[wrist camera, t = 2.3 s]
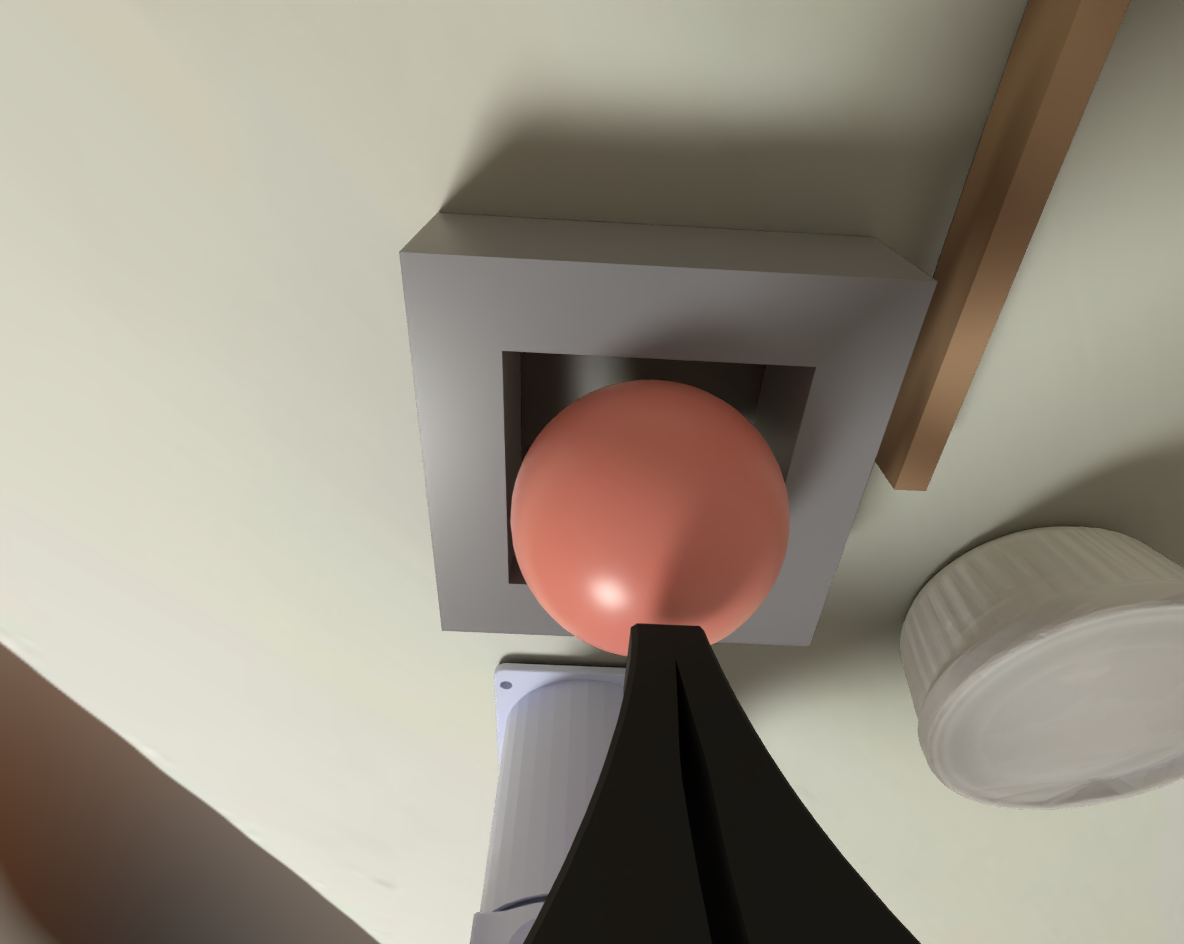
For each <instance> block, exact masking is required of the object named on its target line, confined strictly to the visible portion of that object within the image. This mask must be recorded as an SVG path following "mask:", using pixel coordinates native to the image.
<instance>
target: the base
mask: <svg viewBox="0 0 1184 944" xmlns="http://www.w3.org/2000/svg"><path fill="white" fill-rule="evenodd" d="M399 254H400V263H401V272H402V281H403V290H404V299H405V307H406V316H407V325H408V334H409V343H410V352H411V361H412V369H413V378H414V387H415V396H416V405H417V414H418V423H419V431H420V440H421V449H422V458H423V467H424V476H425V485H426V493H427V502H428V511H429V520H430V529H431V538H432V547H433V555H434V564H435V573H436V582H437V591H438V600H439V609H440V617H441V626H442V631H461V632H484V633H508V634H531V635H555V636H574V635H573V634H571V633H570V632H568V631H567V630H565V629H564V628H563V627H562V626H561V625H559V624H558V623H557V622H556V621H555V620H554V619H553V618H552V617H551V616H550V615H549V614H548V613H547V612H546V611H545V609H544V608H543V607H542V606H541V605H540V604H539V602H538V601H537V599H536V598H535V596H534V595H533V593H532V591H531V590H530V588H529V587H528V585H527V583H526V581H525V579H524V577H523V575H522V572H521V570H520V567H519V564H518V562H517V558H516V555H515V551H514V547H513V540H512V532H511V523H510V520H511V504H512V495H513V490H514V486H515V481H516V478H517V475H518V472H519V469H520V467H521V395H520V352H535V353H554V354H574V355H593V356H612V357H632V358H651V359H670V360H690V361H709V362H729V363H748V364H766V367H765V371H764V376H763V381H762V385H761V390H760V394H759V399H758V404H757V408H756V413H755V417H754V422H753V426H754V427H755V428H756V429H757V430H758V431H759V433H760V434H761V435H762V437H763V438H764V439H765V441H766V442H767V444H768V446H769V447H770V449H771V451H772V453H773V454H774V456H775V458H776V460H777V462H778V464H779V466H780V469H781V473H782V476H783V479H784V482H785V485H786V489H787V493H788V500H789V509H790V533H789V540H788V546H787V551H786V556H785V559H784V562H783V564H782V567H781V570H780V572H779V575H778V577H777V580H776V582H775V584H774V586H773V587H772V589H771V591H770V593H769V594H768V596H767V597H766V599H765V600H764V601H763V603H762V604H761V605H760V607H759V608H758V609H757V611H756V612H755V613H754V614H753V615H752V616H751V617H750V618H749V619H748V620H747V621H746V622H745V623H743V624H742V625H741V626H740V627H739V628H737V629H736V630H735V631H734V632H732V633H731V634H730V635H728V636H727V637H725V638H723V639H722V640H720V641H718V642H719V643H743V644H766V645H790V646H810V644H811V641H812V638H813V635H814V632H815V629H816V626H817V624H818V621H819V618H820V615H821V612H822V609H823V607H824V604H825V601H826V598H827V595H828V592H829V589H830V587H831V584H832V581H833V578H834V575H835V572H836V570H837V567H838V564H839V561H840V558H841V555H842V552H843V550H844V547H845V544H846V541H847V538H848V535H849V532H850V530H851V527H852V524H853V521H854V518H855V515H856V513H857V510H858V507H859V504H860V501H861V498H862V495H863V493H864V490H865V487H866V484H867V481H868V478H869V476H870V473H871V470H872V467H873V464H874V461H875V458H876V456H877V453H878V450H879V447H880V444H881V441H882V439H883V436H884V433H885V430H886V427H887V424H888V421H889V419H890V416H891V413H892V410H893V407H894V404H895V401H896V399H897V396H898V393H899V390H900V387H901V384H902V382H903V379H904V376H905V373H906V370H907V367H908V364H909V362H910V359H911V356H912V353H913V350H914V347H915V345H916V342H917V339H918V336H919V333H920V330H921V327H922V325H923V322H924V319H925V316H926V313H927V310H928V308H929V305H930V302H931V299H932V296H933V293H934V290H935V288H936V285H937V282H938V281H936V280H935V279H933V278H932V277H931V276H929V275H928V274H926V273H925V272H923V271H922V270H920V269H919V268H918V267H916V266H915V265H913V264H912V263H910V262H909V261H907V260H906V259H905V258H903V257H902V256H900V255H899V254H897V253H896V252H894V251H893V250H892V249H890V248H889V247H887V246H886V245H884V244H883V243H881V242H880V241H879V240H877V239H876V238H874V237H861V236H843V235H825V234H808V233H790V232H772V231H754V230H736V229H718V228H700V227H682V226H664V225H647V224H629V223H611V222H593V221H575V220H557V219H539V218H521V217H503V216H486V215H468V214H450V213H437V214H436V215H435V216H434V217H433V218H432V219H431V220H430V221H429V222H428V223H427V224H426V225H425V226H424V227H423V228H422V229H421V230H420V231H419V232H418V233H417V234H416V235H415V236H414V237H413V238H412V239H411V241H410V242H409V243H408V244H407V245H406V246H405V247H404V248H403V249H402V250H401V251H400V252H399Z"/></svg>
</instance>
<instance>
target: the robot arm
mask: <svg viewBox="0 0 1184 944" xmlns="http://www.w3.org/2000/svg"><path fill="white" fill-rule="evenodd" d="M494 682H495V702H496V721H497V741H498V761H499V777H498V784H497V791H496V798H495V806H494V813H493V820H492V827H491V835H490V842H489V849H488V856H487V864H486V871H485V878H484V885H483V893H482V900H481V907H480V912H477V913H475V914H474V918H473V925H472V932H471V939H470V944H921V943H920V942H919V941H918V940H917V939H916V938H915V937H914V936H913V935H912V934H911V932H910V931H909V930H908V929H907V928H906V927H905V926H904V925H903V924H902V923H901V922H900V921H899V920H898V919H897V917H896V916H895V915H894V914H893V913H892V912H891V911H890V910H889V909H888V908H887V906H886V905H885V904H884V903H883V902H882V901H881V899H880V898H879V897H878V896H877V895H876V894H875V892H874V891H873V890H872V889H871V888H870V887H869V885H868V884H867V883H866V882H865V881H864V880H863V878H862V877H861V876H860V875H859V874H858V873H857V871H856V870H855V869H854V868H853V867H852V866H851V864H850V863H849V862H848V861H847V860H846V859H845V857H844V856H843V855H842V854H841V852H840V851H839V850H838V849H837V847H836V846H835V845H834V844H833V842H832V841H831V840H830V838H829V837H828V836H827V835H826V833H825V832H824V831H823V829H822V828H821V827H820V826H819V824H818V823H817V822H816V820H815V819H814V818H813V816H812V815H811V813H810V812H809V811H808V809H807V808H806V807H805V805H804V804H803V803H802V801H801V800H800V798H799V797H798V796H797V794H796V793H795V791H794V790H793V789H792V787H791V786H790V784H789V783H788V781H787V780H786V778H785V777H784V775H783V774H782V772H781V771H780V769H779V768H778V766H777V765H776V763H775V761H774V760H773V758H772V757H771V755H770V754H769V752H768V751H767V749H766V747H765V746H764V744H763V743H762V741H761V739H760V738H759V736H758V734H757V733H756V731H755V729H754V728H753V726H752V724H751V722H750V721H749V719H748V717H747V715H746V714H745V712H744V710H743V708H742V707H741V705H740V703H739V701H738V700H737V698H736V696H735V694H734V692H733V690H732V688H731V686H730V685H729V683H728V681H727V679H726V677H725V675H724V673H723V671H722V669H721V667H720V665H719V663H718V661H717V658H716V656H715V654H714V652H713V650H712V647H711V645H710V643H709V641H708V638H707V636H706V633H705V631H704V630H703V629H702V628H701V627H700V626H689V625H666V624H643V623H637V624H635V625H634V626H632V627H631V630H630V638H629V646H628V654H627V663H626V668H614V667H590V666H566V665H542V664H518V663H502V664H500V665H498V666H497V667H496V669H495V674H494Z"/></svg>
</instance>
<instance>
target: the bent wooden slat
mask: <svg viewBox="0 0 1184 944" xmlns="http://www.w3.org/2000/svg"><path fill="white" fill-rule="evenodd" d="M1129 2H1130V0H1029V1H1028V4H1027V7H1026V9H1025V12H1024V15H1023V18H1022V21H1021V24H1020V27H1019V30H1018V33H1017V35H1016V38H1015V41H1014V44H1013V47H1012V50H1011V53H1010V56H1009V59H1008V61H1007V64H1006V67H1005V70H1004V73H1003V76H1002V79H1001V82H1000V85H999V87H998V90H997V93H996V96H995V99H994V102H993V105H992V108H991V111H990V114H989V116H988V119H987V122H986V125H985V128H984V131H983V134H982V137H981V140H980V142H979V145H978V148H977V151H976V154H975V157H974V160H973V163H972V166H971V168H970V171H969V174H968V177H967V180H966V183H965V186H964V189H963V192H962V195H961V197H960V200H959V203H958V206H957V209H956V212H955V215H954V218H953V221H952V223H951V226H950V229H949V232H948V235H947V238H946V241H945V244H944V247H943V249H942V252H941V255H940V258H939V261H938V264H937V267H936V270H935V273H934V275H933V279H935V280H936V281H938V282H937V285H936V288H935V290H934V293H933V296H932V299H931V302H930V305H929V308H928V310H927V313H926V316H925V319H924V322H923V325H922V327H921V330H920V333H919V336H918V339H917V342H916V345H915V347H914V350H913V353H912V356H911V359H910V362H909V364H908V367H907V370H906V373H905V376H904V379H903V382H902V384H901V387H900V390H899V393H898V396H897V399H896V401H895V404H894V407H893V410H892V413H891V416H890V419H889V421H888V424H887V427H886V430H885V433H884V436H883V439H882V441H881V444H880V447H879V450H878V453H877V456H876V458H875V462H876V463H877V465H878V466H879V468H880V469H881V471H882V472H883V474H884V475H885V477H886V478H887V480H888V481H889V483H890V484H891V486H892V487H893V489H895V490H916V491H926V489H927V487H928V485H929V482H930V480H931V477H932V475H933V473H934V470H935V468H936V465H937V463H938V461H939V458H940V456H941V453H942V451H943V449H944V446H945V444H946V441H947V439H948V437H949V434H950V432H951V429H952V427H953V425H954V422H955V420H956V417H957V415H958V413H959V410H960V408H961V405H962V403H963V401H964V398H965V396H966V393H967V391H968V389H969V386H970V384H971V381H972V379H973V377H974V374H975V372H976V369H977V367H978V365H979V362H980V360H981V357H982V355H983V353H984V350H985V348H986V345H987V343H988V341H989V338H990V336H991V333H992V331H993V329H994V326H995V324H996V321H997V319H998V317H999V314H1000V312H1001V309H1002V307H1003V305H1004V302H1005V300H1006V297H1007V295H1008V293H1009V290H1010V288H1011V285H1012V283H1013V281H1014V278H1015V276H1016V273H1017V271H1018V269H1019V266H1020V264H1021V261H1022V259H1023V257H1024V254H1025V252H1026V249H1027V247H1028V245H1029V242H1030V240H1031V237H1032V235H1033V233H1034V230H1035V228H1036V225H1037V223H1038V221H1039V218H1040V216H1041V213H1042V211H1043V209H1044V206H1045V204H1046V201H1047V199H1048V197H1049V194H1050V192H1051V189H1052V187H1053V185H1054V182H1055V180H1056V177H1057V175H1058V173H1059V170H1060V168H1061V165H1062V163H1063V161H1064V158H1065V156H1066V153H1067V151H1068V149H1069V146H1070V144H1071V141H1072V139H1073V137H1074V134H1075V132H1076V129H1077V127H1078V125H1079V122H1080V120H1081V117H1082V115H1083V113H1084V110H1085V108H1086V105H1087V103H1088V101H1089V98H1090V96H1091V93H1092V91H1093V89H1094V86H1095V84H1096V81H1097V79H1098V77H1099V74H1100V72H1101V69H1102V67H1103V65H1104V62H1105V60H1106V57H1107V55H1108V53H1109V50H1110V48H1111V45H1112V43H1113V41H1114V38H1115V36H1116V33H1117V31H1118V29H1119V26H1120V24H1121V21H1122V19H1123V17H1124V14H1125V12H1126V9H1127V7H1128V5H1129Z"/></svg>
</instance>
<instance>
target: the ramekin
mask: <svg viewBox="0 0 1184 944" xmlns="http://www.w3.org/2000/svg"><path fill="white" fill-rule="evenodd" d="M900 655H901V659H902V663H903V666H904V670H905V674H906V678H907V681H908V685H909V688H910V692H911V696H912V700H913V704H914V707H915V711H916V714H917V717H918V737H919V742H920V745H921V748H922V751H923V753H924V755H925V758H926V760H927V763H928V765H929V767H930V769H931V770H932V772H933V773H934V774H935V775H936V777H937V778H938V779H939V780H940V781H941V782H942V783H943V784H944V785H946V786H947V787H948V788H950V789H951V790H953V791H954V792H956V793H958V794H960V795H962V796H964V797H966V798H969V799H971V800H974V801H977V802H980V803H984V804H987V805H992V806H997V807H1003V808H1012V809H1019V810H1025V809H1026V810H1055V809H1068V808H1077V807H1083V806H1090V805H1097V804H1102V803H1107V802H1111V801H1116V800H1120V799H1124V798H1128V797H1132V796H1135V795H1139V794H1142V793H1145V792H1148V791H1151V790H1155V789H1157V788H1160V787H1163V786H1166V785H1168V784H1171V783H1173V782H1176V781H1178V780H1180V779H1183V778H1184V568H1182V567H1181V566H1179V565H1177V564H1176V563H1174V562H1173V561H1171V560H1169V559H1168V558H1166V557H1165V556H1163V555H1161V554H1160V553H1158V552H1157V551H1155V550H1153V549H1152V548H1150V547H1149V546H1147V545H1145V544H1144V543H1142V542H1140V541H1139V540H1137V539H1134V538H1132V537H1129V536H1126V535H1124V534H1122V533H1119V532H1115V531H1108V530H1106V529H1102V528H1090V527H1082V526H1079V527H1070V526H1056V527H1042V528H1034V529H1029V530H1024V531H1019V532H1016V533H1012V534H1009V535H1005V536H1002V537H999V538H997V539H994V540H991V541H989V542H986V543H984V544H982V545H980V546H978V547H976V548H974V549H972V550H970V551H968V552H967V553H965V554H963V555H961V556H960V557H958V558H957V559H955V560H954V561H952V562H951V563H949V564H948V565H947V566H945V567H944V568H943V569H942V570H940V571H939V572H938V573H937V574H936V575H935V576H934V577H933V578H932V579H931V580H930V581H929V582H928V583H927V584H926V585H925V586H924V587H923V588H922V590H921V591H920V592H919V594H918V595H917V596H916V598H915V600H914V601H913V603H912V605H911V607H910V609H909V611H908V613H907V616H906V619H905V621H904V623H903V625H902V632H901V636H900Z"/></svg>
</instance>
